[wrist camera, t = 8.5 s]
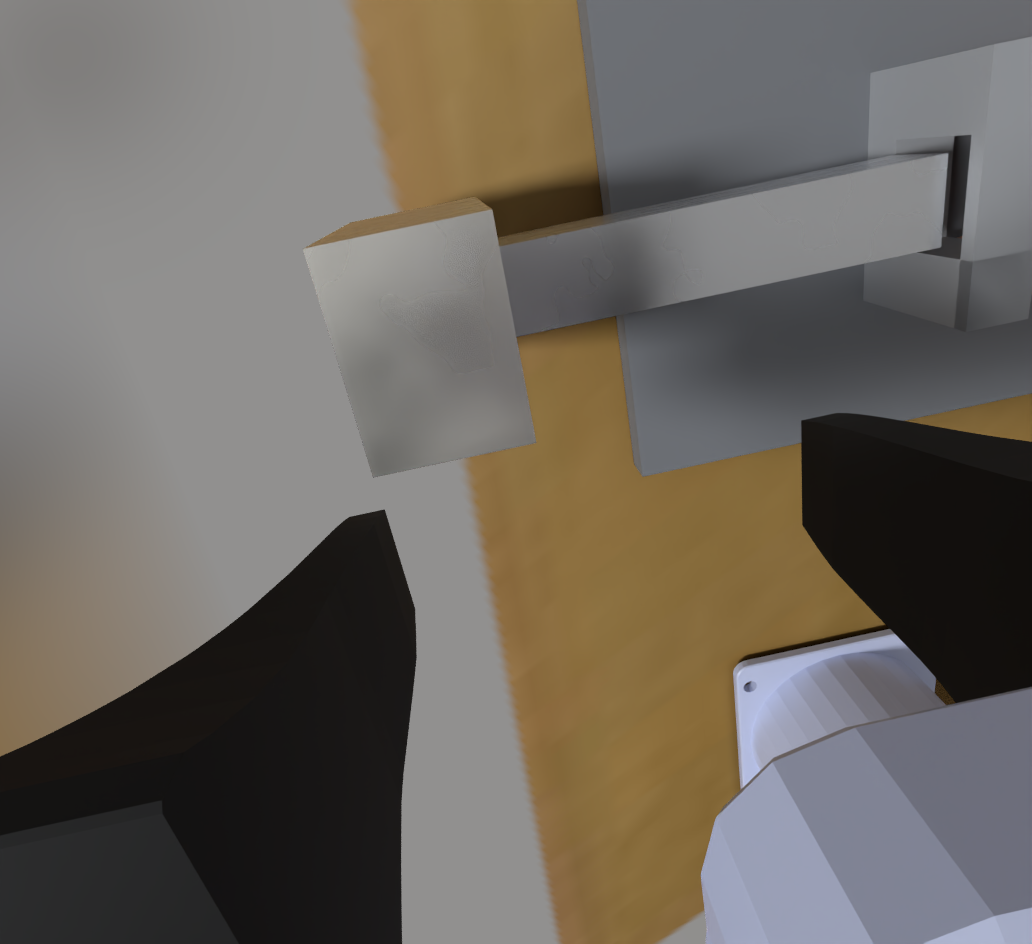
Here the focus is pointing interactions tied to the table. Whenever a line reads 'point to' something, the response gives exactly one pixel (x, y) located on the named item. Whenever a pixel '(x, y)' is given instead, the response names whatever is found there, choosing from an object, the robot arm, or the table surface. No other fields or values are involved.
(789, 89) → the bracket
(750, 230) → the shaft
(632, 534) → the table surface
